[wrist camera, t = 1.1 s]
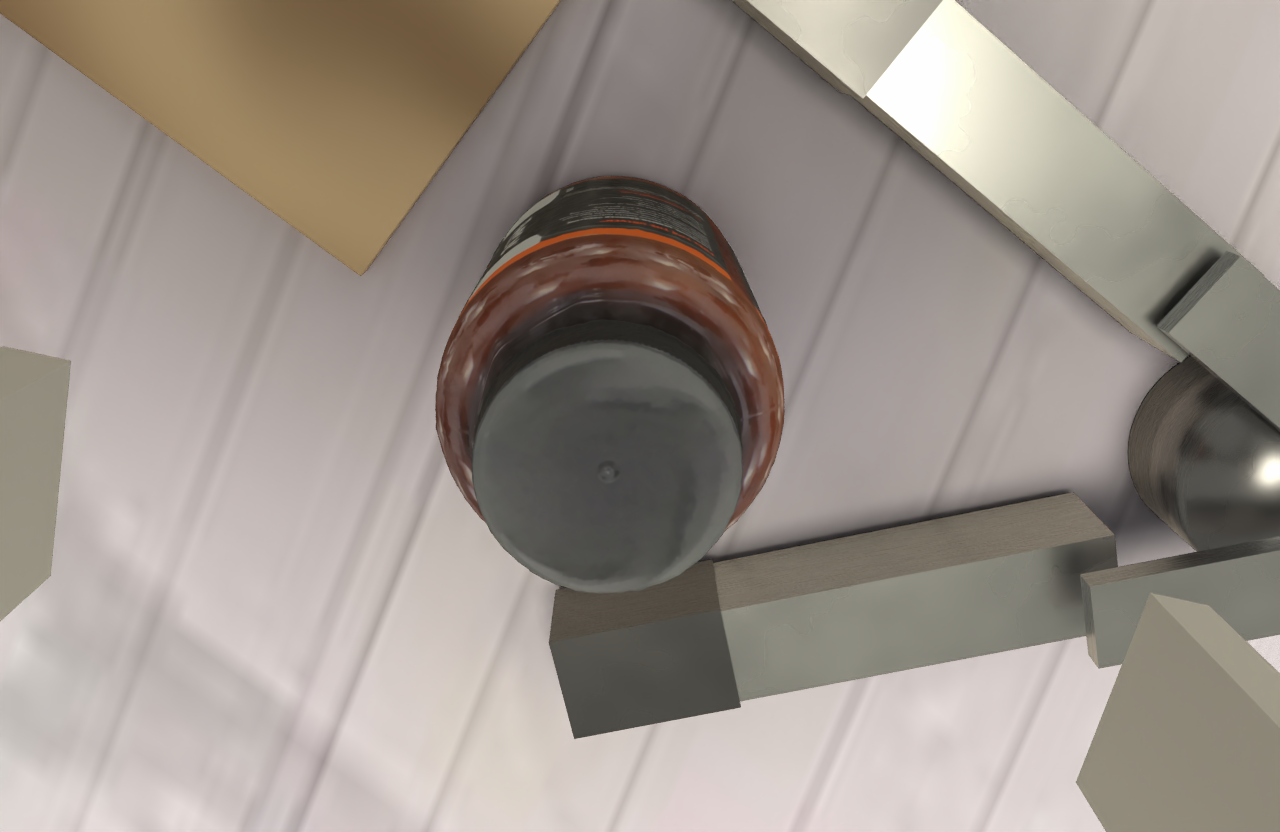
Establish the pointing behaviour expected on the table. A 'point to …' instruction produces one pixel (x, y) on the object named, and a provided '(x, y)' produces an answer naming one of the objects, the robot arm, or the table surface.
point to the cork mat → (302, 92)
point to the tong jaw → (882, 610)
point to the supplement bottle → (610, 388)
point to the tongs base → (1081, 241)
